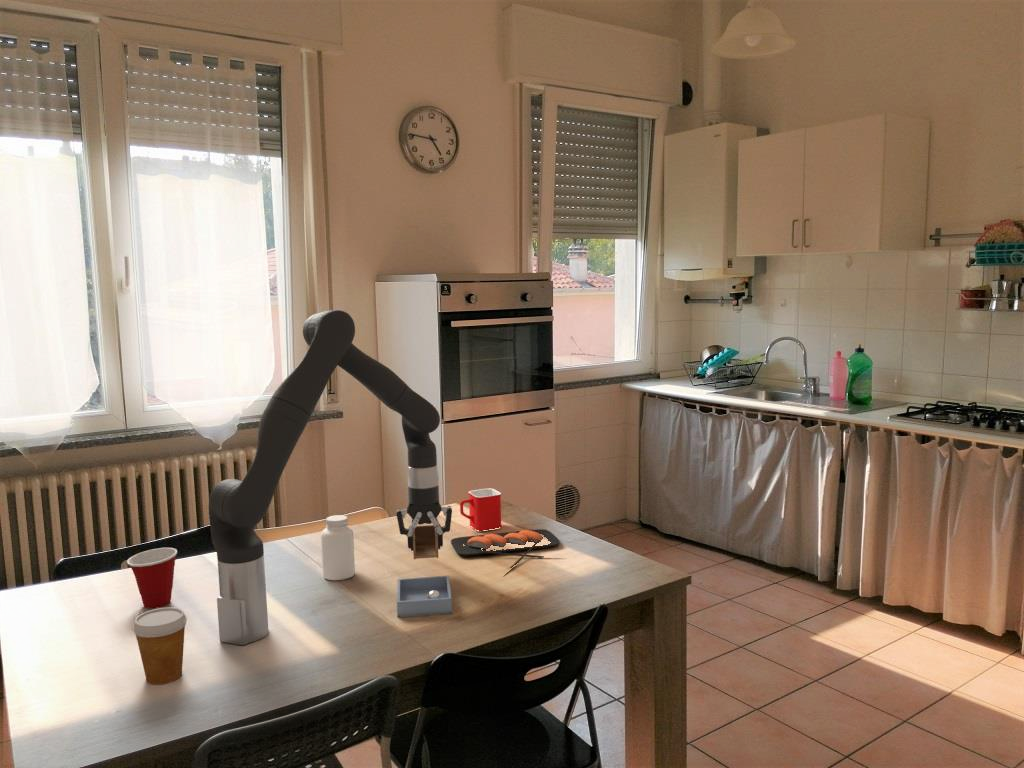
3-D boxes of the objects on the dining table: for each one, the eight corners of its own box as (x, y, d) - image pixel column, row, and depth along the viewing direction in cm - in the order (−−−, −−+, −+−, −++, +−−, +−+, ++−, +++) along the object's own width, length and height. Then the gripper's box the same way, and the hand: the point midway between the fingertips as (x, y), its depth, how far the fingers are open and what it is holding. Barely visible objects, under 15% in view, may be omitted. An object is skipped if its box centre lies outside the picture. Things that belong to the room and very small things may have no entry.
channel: (413, 547, 208) (412, 526, 207) (437, 545, 209) (436, 524, 208) (413, 559, 199) (412, 537, 198) (438, 557, 200) (437, 536, 199)
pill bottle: (359, 570, 210) (356, 513, 208) (349, 581, 202) (347, 523, 200) (329, 569, 211) (326, 513, 209) (318, 581, 203) (315, 522, 201)
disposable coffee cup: (198, 663, 161) (193, 605, 159) (180, 688, 151) (175, 626, 150) (149, 665, 160) (144, 607, 159) (128, 690, 151) (122, 628, 149)
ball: (441, 605, 186) (434, 602, 184) (431, 605, 188) (423, 601, 185) (444, 592, 187) (437, 588, 185) (433, 591, 189) (426, 588, 187)
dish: (398, 593, 195) (397, 579, 194) (448, 589, 196) (448, 575, 196) (397, 617, 181) (396, 602, 180) (452, 613, 182) (451, 598, 182)
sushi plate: (547, 534, 238) (547, 521, 237) (582, 569, 209) (582, 555, 208) (448, 544, 230) (448, 531, 230) (471, 582, 202) (470, 567, 201)
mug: (492, 521, 249) (491, 487, 247) (504, 529, 242) (503, 494, 240) (455, 527, 244) (454, 493, 242) (466, 535, 236) (465, 499, 235)
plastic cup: (133, 598, 194) (129, 549, 193) (182, 592, 197) (179, 544, 196) (127, 616, 184) (123, 565, 182) (179, 609, 187) (175, 559, 186)
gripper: (393, 488, 197) (396, 556, 199) (453, 485, 199) (455, 552, 201) (393, 481, 204) (396, 545, 207) (451, 477, 206) (453, 542, 208)
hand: (425, 548), depth 204 cm, fingers closed on channel, 6 cm apart
